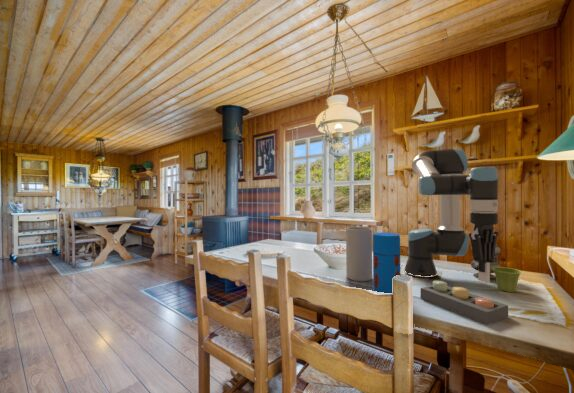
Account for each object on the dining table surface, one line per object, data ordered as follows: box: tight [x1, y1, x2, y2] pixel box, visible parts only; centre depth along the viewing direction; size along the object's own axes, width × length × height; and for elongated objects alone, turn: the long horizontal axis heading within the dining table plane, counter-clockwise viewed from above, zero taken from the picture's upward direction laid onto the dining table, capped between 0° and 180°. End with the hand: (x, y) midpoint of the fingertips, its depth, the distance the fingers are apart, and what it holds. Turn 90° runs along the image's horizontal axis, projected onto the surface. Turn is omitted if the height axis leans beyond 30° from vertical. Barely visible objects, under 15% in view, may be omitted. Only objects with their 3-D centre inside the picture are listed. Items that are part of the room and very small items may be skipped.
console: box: [420, 284, 509, 326], centre depth 95 cm, size 24×12×4 cm, turn 24°
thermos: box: [372, 232, 401, 293], centre depth 110 cm, size 11×11×25 cm
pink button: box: [475, 297, 494, 309], centre depth 88 cm, size 5×5×4 cm
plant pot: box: [493, 266, 522, 293], centre depth 112 cm, size 9×9×9 cm
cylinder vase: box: [345, 226, 373, 282], centre depth 130 cm, size 12×12×25 cm
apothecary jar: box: [470, 243, 502, 281], centre depth 129 cm, size 12×12×18 cm
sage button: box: [432, 280, 448, 293], centre depth 103 cm, size 5×5×4 cm
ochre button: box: [452, 286, 470, 300], centre depth 95 cm, size 5×5×4 cm
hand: (484, 280), depth 88 cm, fingers closed
